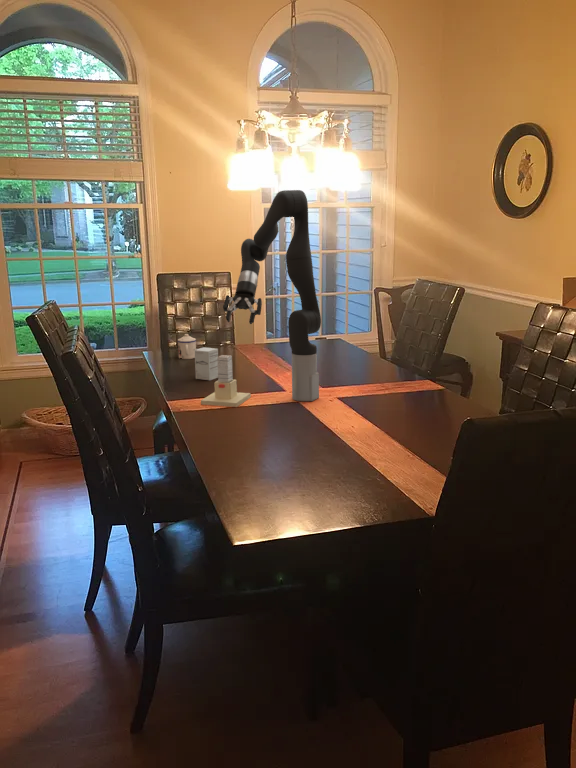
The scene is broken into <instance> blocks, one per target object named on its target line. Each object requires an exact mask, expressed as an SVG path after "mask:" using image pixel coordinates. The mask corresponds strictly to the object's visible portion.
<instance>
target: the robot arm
mask: <svg viewBox="0 0 576 768" xmlns="http://www.w3.org/2000/svg"><path fill="white" fill-rule="evenodd" d="M308 202H309V201H308V198H307V194H306V193H305V192H304V191H303V190H300V189H293V190H291V189H290V190H288V189H286V190H285V189H284V190H280V191H278V192H277V193H276V194H275V196H274V197H273V200H272V202H271V204H270V206H269V209H268V211H267V213H266V216H265V219H264V221H263V222H262V224H261V225H260V226H259V228H257V229H258V230H257V231H256V232H255V234H254V235H253V238H246V239H245V240H243V241H242V244H241V245H240V246H241V247H240V254H241V255H240V256H241V268H240V274H239V276H238V280H237V285H236V289H235V293H234V296H232V297H231V296H230V295H228V294H227V295H226V296H225V299H224V302H223V305H222V308H223V309H222V310H223V312H224V313H226V314H225V320H226V322H228V323H230V322H231V317H232V313H233V312H234V311H236V310H245V311H246V310H249V312H250V315H249V319H248V321H249V325H252V324H253V323H254V322H255V319H256V316H257V315H258V316H260V315H262V313H261V312H262V307H263V301H262V298H261V297H259V298H256V297H255V296H256V293H257V288H258V283H259V282H258V281H259V274H260V269H261V266H260V263H259V262H263V261H264V260H265V259H266V258H267V256H268V252H269V248H270V246H271V244H272V243H273V242H274V240H275V239H276V238H277V236H278V234H279V224H278V223H279V221H280V220H282V219H283V218H293V219H294V221H293V222H294V223H293V224H294V225H293V226H294V227H293V229H294V231H293V234H292V237H291V239H290V242H289V245H288V247H287V250H286V254H285V261H286V272H287V275H288V277H289V280H290V281H291V283H292V285H293V286H294V287H295V289H296V291H297V292H298V293H297V294H298V295H299V297H300V302H301V303H300V304H301V309H298V310H294V311H292V312H291V313H290V315H289V317H288V321H287V322H288V323H287V324H288V325H287V327H288V328H287V329H288V340H289V347H290V350H291V394H292V395H291V396H292V397H291V398H292V400H294V401H296V402H297V401H298V402H313V401H315V400H317V399H319V398H320V373H319V372H318V371H317V370H318V366H317V365H318V364H317V363H318V362H317V361H318V360H317V357H318V356H317V354H318V352H317V351H318V349H317V345H316V344H314V343H311V342H310V340H309V335H311V334H315V333H317V332H318V331H319V330H320V329H321V326H322V317H321V312H320V308H319V307H320V306H319V303H318V297H317V293H316V292H317V291H316V285H315V279H314V278H315V277H314V267H313V259H312V251H311V244H310V232H309V204H308ZM255 298H256V299H255ZM254 304H256V305H257V306H256V309H255V308H254V307H253V305H254Z"/></svg>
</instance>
